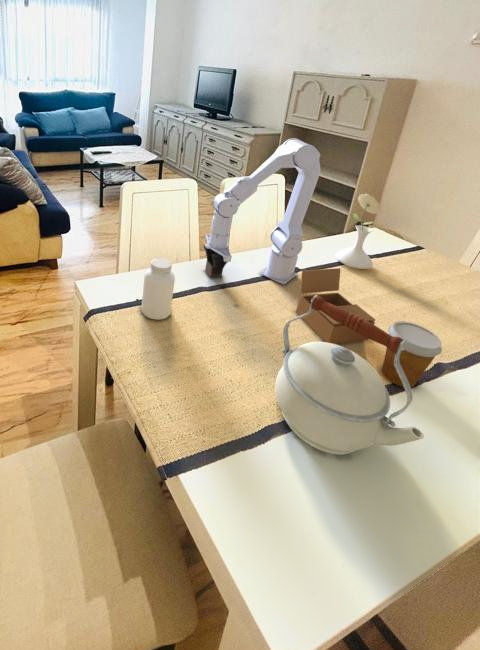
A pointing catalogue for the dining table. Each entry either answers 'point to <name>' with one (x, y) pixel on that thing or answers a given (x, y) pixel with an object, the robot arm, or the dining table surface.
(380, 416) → the kettle
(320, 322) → the carton
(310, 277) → the flap
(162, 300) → the pill bottle
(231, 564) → the dining table surface
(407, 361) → the disposable coffee cup
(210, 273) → the block
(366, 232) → the flower in vase
